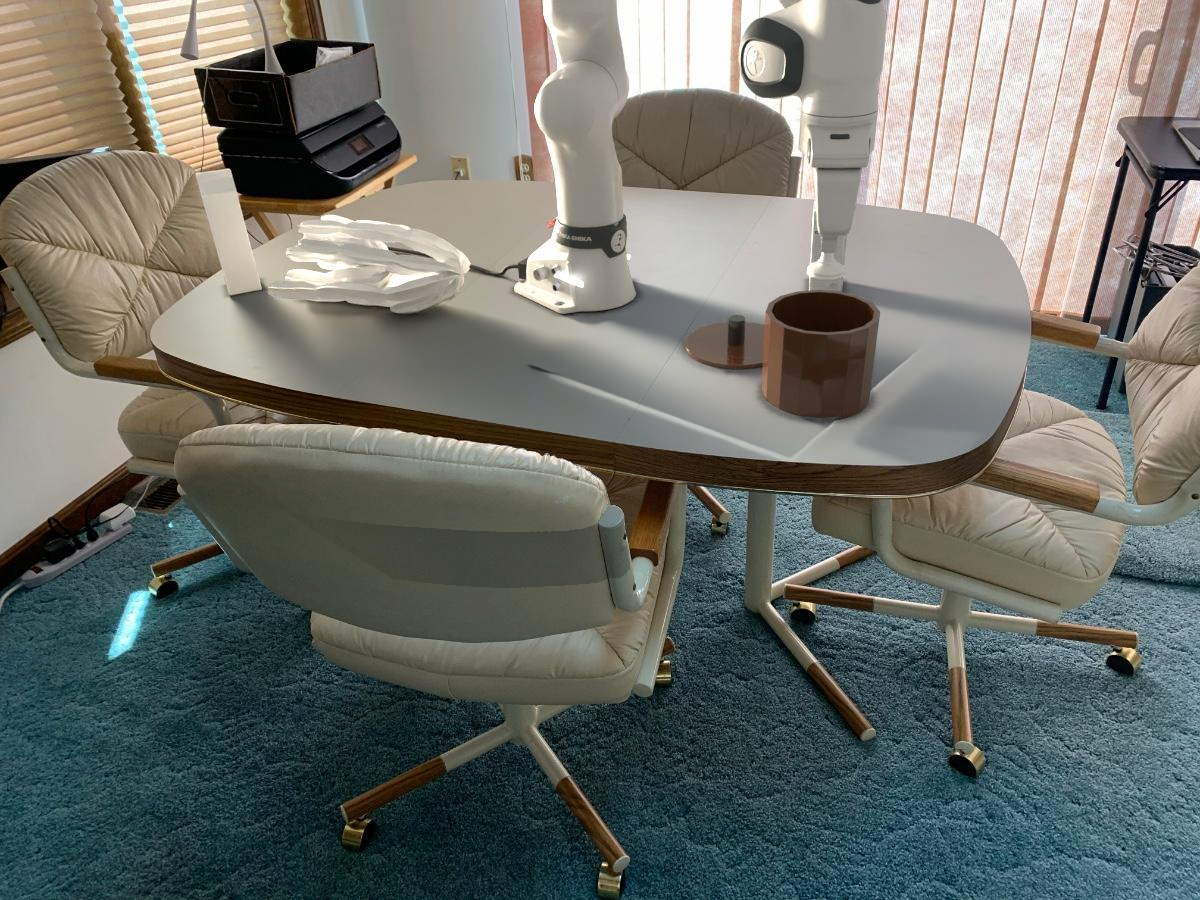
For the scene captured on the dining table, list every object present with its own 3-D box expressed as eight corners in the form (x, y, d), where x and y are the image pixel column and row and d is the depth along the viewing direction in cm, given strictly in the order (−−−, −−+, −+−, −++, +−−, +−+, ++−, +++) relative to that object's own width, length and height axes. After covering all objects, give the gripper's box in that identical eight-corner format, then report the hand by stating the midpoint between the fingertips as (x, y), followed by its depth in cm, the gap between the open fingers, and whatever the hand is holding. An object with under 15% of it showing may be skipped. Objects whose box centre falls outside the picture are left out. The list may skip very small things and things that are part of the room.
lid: (664, 355, 140) (663, 323, 137) (721, 320, 150) (722, 290, 147) (752, 382, 131) (753, 349, 129) (807, 343, 141) (809, 312, 138)
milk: (262, 290, 172) (232, 172, 160) (228, 296, 170) (195, 177, 158) (258, 279, 177) (229, 164, 165) (226, 285, 175) (194, 169, 163)
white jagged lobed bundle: (490, 235, 163) (322, 221, 173) (445, 207, 146) (261, 193, 156) (477, 329, 163) (310, 310, 173) (430, 313, 146) (247, 292, 156)
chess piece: (823, 283, 115) (829, 204, 110) (798, 271, 119) (803, 195, 114) (853, 274, 117) (861, 197, 112) (828, 263, 121) (835, 188, 115)
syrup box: (842, 292, 157) (850, 210, 150) (807, 291, 158) (813, 209, 151) (841, 280, 162) (849, 199, 154) (807, 279, 163) (813, 199, 156)
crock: (742, 400, 127) (745, 317, 120) (795, 362, 136) (801, 282, 129) (837, 432, 119) (846, 344, 112) (887, 388, 128) (898, 305, 121)
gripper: (808, 115, 118) (801, 220, 125) (811, 156, 101) (803, 275, 108) (859, 114, 117) (849, 220, 124) (870, 156, 100) (857, 276, 107)
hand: (827, 246), depth 116 cm, fingers closed on chess piece
